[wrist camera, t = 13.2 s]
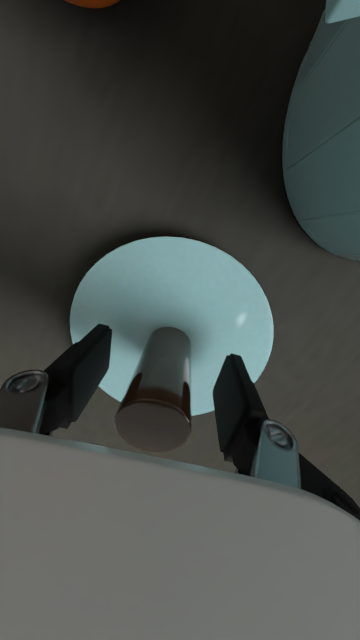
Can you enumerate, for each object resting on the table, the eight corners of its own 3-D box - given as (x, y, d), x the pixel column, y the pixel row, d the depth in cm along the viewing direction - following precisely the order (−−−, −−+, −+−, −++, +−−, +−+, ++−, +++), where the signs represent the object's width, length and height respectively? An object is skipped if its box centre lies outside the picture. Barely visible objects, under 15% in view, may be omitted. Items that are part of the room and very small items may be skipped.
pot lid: (49, 252, 12) (-132, 270, 5) (273, 220, 10) (417, 190, 4) (108, 408, 17) (56, 515, 11) (262, 401, 16) (312, 518, 9)
